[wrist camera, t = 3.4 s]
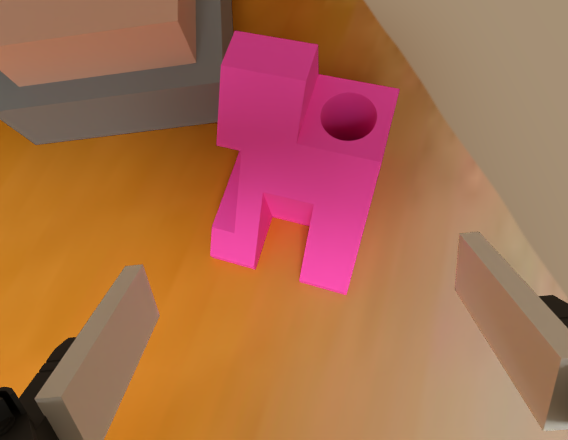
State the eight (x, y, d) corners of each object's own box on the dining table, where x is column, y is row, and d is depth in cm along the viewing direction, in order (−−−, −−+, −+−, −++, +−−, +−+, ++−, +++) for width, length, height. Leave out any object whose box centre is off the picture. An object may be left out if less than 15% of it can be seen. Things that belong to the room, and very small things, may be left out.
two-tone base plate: (35, 144, 35) (-58, 77, 26) (59, -25, 41) (-10, -123, 33) (237, 119, 33) (208, 41, 25) (229, -51, 40) (203, -159, 31)
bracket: (260, 123, 33) (234, 30, 24) (382, 149, 32) (408, 59, 22) (213, 257, 30) (160, 213, 20) (345, 295, 28) (357, 265, 18)
